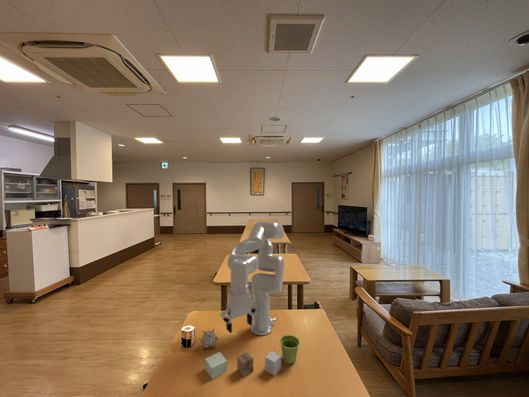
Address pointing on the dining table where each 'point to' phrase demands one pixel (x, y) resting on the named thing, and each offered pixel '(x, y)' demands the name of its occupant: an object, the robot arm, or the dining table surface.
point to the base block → (216, 365)
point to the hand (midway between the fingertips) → (239, 327)
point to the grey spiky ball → (209, 339)
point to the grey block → (273, 363)
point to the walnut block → (245, 364)
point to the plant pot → (289, 348)
